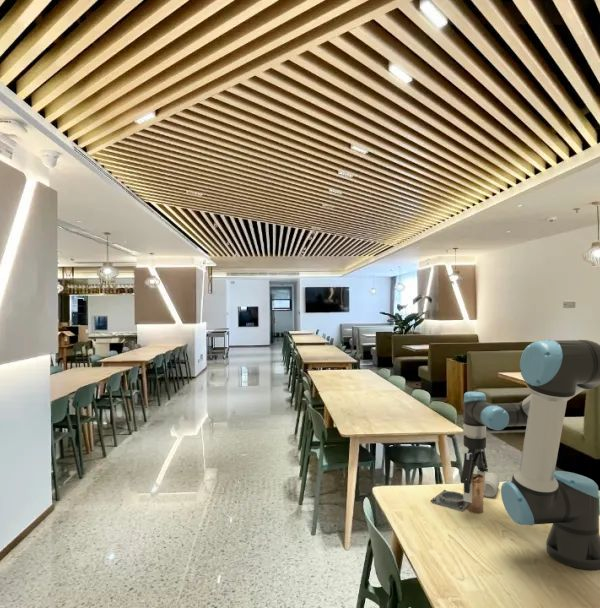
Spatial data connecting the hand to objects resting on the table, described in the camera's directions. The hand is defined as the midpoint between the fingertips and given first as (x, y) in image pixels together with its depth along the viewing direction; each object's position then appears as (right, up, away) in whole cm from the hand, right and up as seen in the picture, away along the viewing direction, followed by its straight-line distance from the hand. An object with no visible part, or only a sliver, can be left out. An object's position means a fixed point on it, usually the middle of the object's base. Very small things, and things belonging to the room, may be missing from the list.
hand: (474, 495), depth 165 cm
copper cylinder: (0, -5, 0) cm, 5 cm away
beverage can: (+8, -2, +10) cm, 13 cm away
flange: (-6, -5, +7) cm, 10 cm away
